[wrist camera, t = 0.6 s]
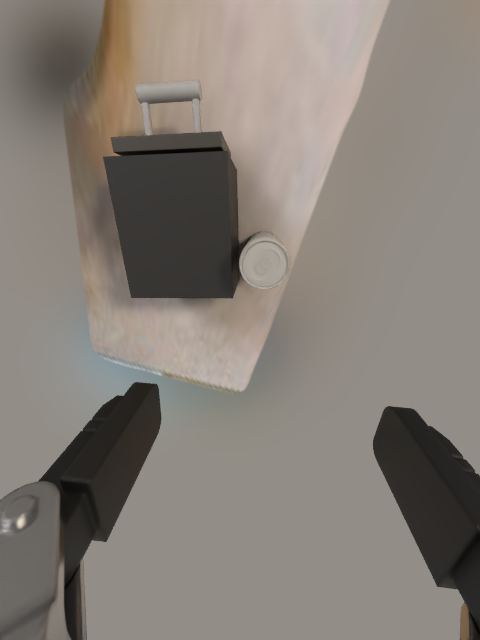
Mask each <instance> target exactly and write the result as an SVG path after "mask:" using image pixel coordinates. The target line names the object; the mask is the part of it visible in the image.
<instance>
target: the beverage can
mask: <svg viewBox="0 0 480 640" xmlns="http://www.w3.org/2000/svg"><path fill="white" fill-rule="evenodd" d="M239 268H240V272H241V275H242V277H243V278H244V280H245V281H246V282H247V283H248V284H249V285H251V286H252V287H254V288H257V289H263V290H265V289H271V288H274V287H276V286H278V285H279V284H280V283H282V281H283V280H284V279H285V278H286V276H287V274H288V271H289V268H290V257H289V254H288V251H287V249H286V248H285V247H284V245H283V244H282V243H281V242H280V241H279V240H278V238H277V237H276V236H274V235H273V234H271V233H269V232H259V233H256V234H254V235H253V236H252V237H251V238H250V239H249V241H248V243H247V244H246V246H245V247H244V249H243V250H242V253H241V255H240V259H239Z"/></svg>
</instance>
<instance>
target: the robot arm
mask: <svg viewBox="0 0 480 640" xmlns="http://www.w3.org/2000/svg"><path fill="white" fill-rule="evenodd" d="M160 424H161V411H160V399H159V389H158V386H157V384H150V383H139V382H135V383H134V384H133V385H132V386H131V387H130V388H129V390H128V391H127V392H126V393H125V395H124V396H116V397H114V398H113V399H111V400H110V401H109V402H107V403H106V404H104V405H103V406H102V407H101V408H100V409H99V410H98V412H97V413H96V414H95V416H94V417H93V418H92V420H90V421H89V422H88V423H87V425H86V426H85V427H84V428H83V431H81V432H80V433H79V434H78V435H77V436H76V438H75V439H74V440H73V441H72V442H71V444H70V445H69V446H68V447H67V448H66V450H65V451H64V452H63V453H62V454H61V455H60V457H59V458H58V459H57V460H56V461H55V462H54V464H53V465H52V466H51V467H50V468H49V470H48V471H47V472H46V473H45V474H44V475H43V477H42V478H41V479H40V480H39V481H38V482H34V483H30V484H27V485H24V486H22V487H20V488H17V489H16V490H14V491H13V492H11V493H9V494H7V495H6V496H5V497H3V498H2V499H1V500H0V640H87V630H86V609H85V588H84V587H85V586H84V564H83V556H84V554H85V552H86V550H87V549H88V547H89V544H90V543H91V541H92V540H95V541H103V542H106V541H107V540H108V537H109V535H110V533H111V531H112V529H113V527H114V525H115V523H116V520H117V519H118V517H119V514H120V512H121V510H122V508H123V506H124V504H125V502H126V500H127V498H128V496H129V494H130V491H131V489H132V487H133V485H134V483H135V481H136V479H137V477H138V475H139V473H140V470H141V468H142V466H143V464H144V462H145V460H146V458H147V456H148V454H149V452H150V449H151V447H152V445H153V443H154V441H155V439H156V437H157V435H158V432H159V429H160ZM373 450H374V454H375V457H376V460H377V462H378V464H379V466H380V468H381V470H382V472H383V474H384V476H385V479H386V481H387V483H388V485H389V487H390V489H391V491H392V493H393V495H394V497H395V499H396V501H397V503H398V506H399V508H400V510H401V512H402V514H403V516H404V518H405V520H406V522H407V524H408V526H409V528H410V531H411V533H412V535H413V537H414V539H415V541H416V543H417V545H418V547H419V549H420V551H421V553H422V556H423V557H424V560H425V562H426V564H427V566H428V568H429V570H430V572H431V574H432V576H433V578H434V580H435V583H436V585H437V586H438V587H445V588H452V589H458V590H459V592H460V594H461V596H462V598H463V600H464V601H465V602H464V603H463V605H462V607H461V617H460V640H480V476H479V475H478V474H476V473H475V470H474V469H473V467H472V466H471V465H470V464H469V463H468V462H467V460H464V459H463V456H462V455H461V453H460V452H459V451H458V450H457V449H456V448H455V446H454V445H453V444H452V443H451V442H450V440H448V439H447V438H446V437H444V436H443V435H442V434H441V433H439V432H438V431H437V430H435V429H434V428H433V427H431V426H428V425H427V424H426V423H425V422H424V420H423V419H422V418H421V417H420V415H419V414H418V413H417V412H416V411H415V410H414V409H411V408H401V407H391V406H388V407H386V408H385V409H384V411H383V414H382V417H381V419H380V422H379V425H378V428H377V431H376V434H375V436H374V440H373Z"/></svg>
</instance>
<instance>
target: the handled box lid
mask: <svg viewBox="0 0 480 640" xmlns="http://www.w3.org/2000/svg"><path fill="white" fill-rule="evenodd" d="M136 94H137V98H138V100H139V102H140V104H142V111H143V119H144V126H145V133H146V136H128V137H112V138H111V141H112V146H113V152H114V153H116V154H119V155H121V156H132V155H153V154H173V153H194V152H215V151H228V153H229V156H230V158H231V152H230V150H229V148H228V146H227V143H226V141H225V139H224V137H223V135H222V132H221V131H220V132H202V131H201V116H200V102H199V100H202V90H201V84H200V81H199V80H192V81H178V82H165V83H151V84H137V85H136ZM184 101H192V105H193V118H194V131H195V133H183V134H165V135H153V129H152V122H151V114H150V106H149V104H153V103H168V102H184Z"/></svg>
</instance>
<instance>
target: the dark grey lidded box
mask: <svg viewBox="0 0 480 640" xmlns="http://www.w3.org/2000/svg"><path fill="white" fill-rule="evenodd" d="M103 159H104V164H105V169H106V174H107V179H108V184H109V189H110V194H111V199H112V204H113V209H114V214H115V219H116V224H117V229H118V234H119V239H120V244H121V249H122V254H123V259H124V264H125V269H126V274H127V279H128V284H129V289H130V294H131V298H233V295H234V293H235V290H236V287H237V284H238V281H239V241H238V200H237V170H236V168H235V166H234V164H233V162H232V160H231V158H230V156H229V153H228V151H215V152H194V153H173V154H153V155H132V156H111V157H103Z"/></svg>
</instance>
